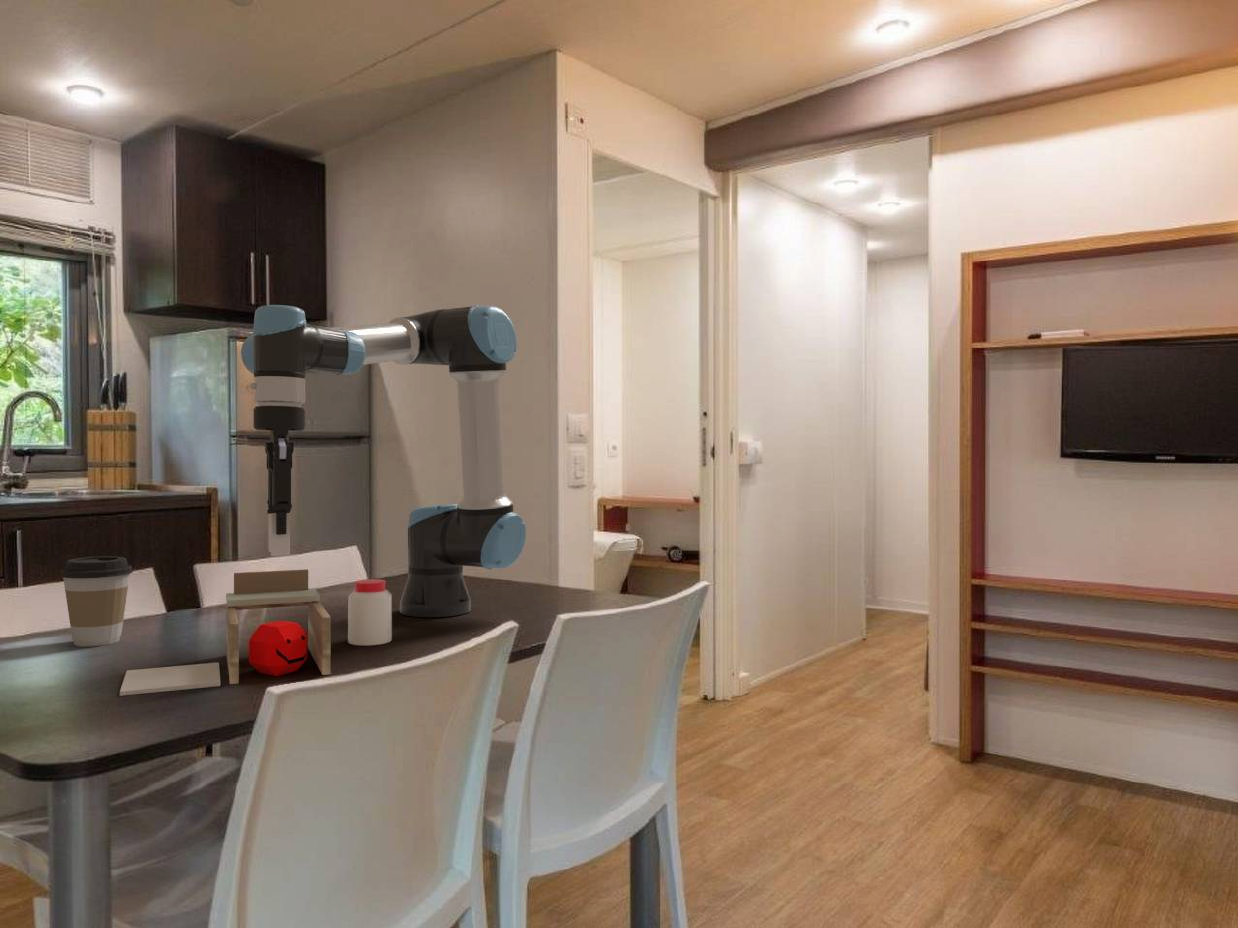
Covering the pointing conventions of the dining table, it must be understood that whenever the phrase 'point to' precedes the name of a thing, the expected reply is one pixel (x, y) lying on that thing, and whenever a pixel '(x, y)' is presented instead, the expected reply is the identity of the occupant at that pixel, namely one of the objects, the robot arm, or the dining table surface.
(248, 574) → the cover
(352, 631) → the pill bottle
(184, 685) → the mat
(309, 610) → the wooden goalpost gate
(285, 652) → the ball
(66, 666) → the dining table surface
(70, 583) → the coffee cup
